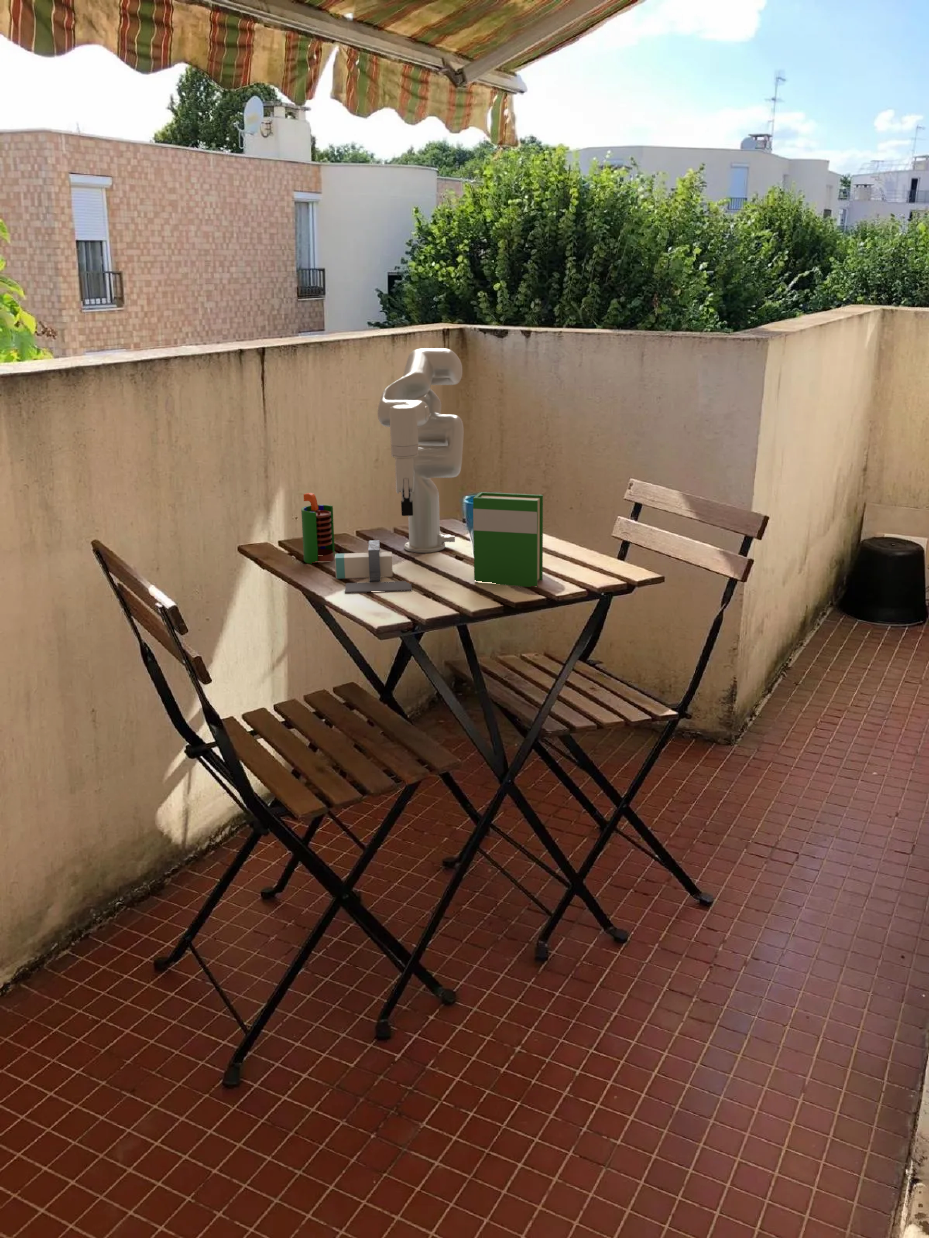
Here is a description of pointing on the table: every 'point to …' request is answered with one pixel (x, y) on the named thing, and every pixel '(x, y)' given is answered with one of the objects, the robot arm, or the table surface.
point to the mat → (377, 587)
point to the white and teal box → (361, 565)
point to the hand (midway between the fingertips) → (407, 515)
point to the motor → (317, 531)
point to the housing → (374, 560)
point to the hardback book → (508, 538)
